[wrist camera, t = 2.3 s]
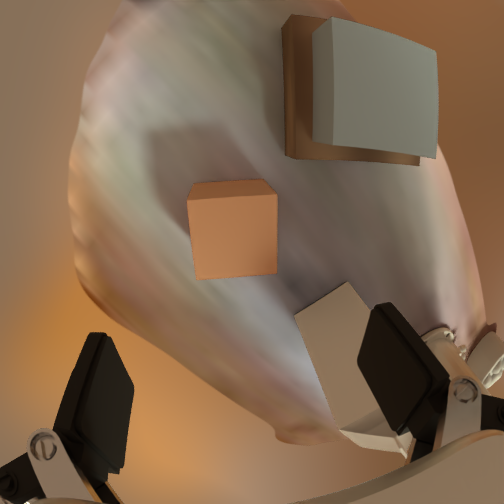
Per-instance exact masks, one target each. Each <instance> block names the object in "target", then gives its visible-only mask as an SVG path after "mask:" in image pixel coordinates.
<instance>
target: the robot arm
mask: <svg viewBox="0 0 504 504" xmlns="http://www.w3.org/2000/svg"><path fill="white" fill-rule="evenodd" d="M453 342H454V335H453V333H452V332H451V331H450V329H448V328H445V327H442V328H437V329H434V330H432V331H430V332H428V333H427V334H425V335H424V336H422V337H420V336H419V335H418V334H417V333H416V331H415V330H414V329H413V328H412V326H411V325H410V324H409V323H408V322H407V320H406V319H405V318H404V317H403V316H402V315H401V313H400V312H399V311H398V310H397V309H396V308H395V306H394V305H393V304H392V303H390V302H387V303H382V304H377V305H375V307H374V309H372V310H371V312H370V316H369V320H368V323H367V327H366V330H365V334H364V337H363V341H362V344H361V347H360V350H359V354H358V357H357V365H358V367H359V369H360V371H361V373H362V375H363V377H364V379H365V380H366V382H367V384H368V386H369V388H370V390H371V392H372V394H373V395H374V397H375V399H376V401H377V403H378V405H379V407H380V409H381V411H382V413H383V414H384V416H385V418H386V420H387V422H388V424H389V426H390V428H391V430H392V431H396V433H397V435H398V436H401V435H403V434H405V433H408V432H411V434H412V436H413V437H412V441H411V444H410V448H409V452H408V455H407V458H406V461H405V465H404V466H403V467H401V468H399V469H397V470H394V471H392V472H390V473H388V474H385V475H383V476H380V477H378V478H375V479H372V480H370V481H367V482H365V483H362V484H359V485H356V486H353V487H350V488H347V489H344V490H341V491H338V492H334V493H331V494H327V495H323V496H320V497H316V498H312V499H307V500H303V501H298V502H294V503H289V504H504V399H501V398H497V397H493V396H491V395H490V393H489V392H488V391H487V389H486V388H485V386H484V385H483V384H482V383H481V381H480V380H479V379H478V377H477V376H476V375H475V374H474V372H473V371H472V370H471V368H470V367H469V366H468V365H467V363H466V362H465V361H464V360H465V358H466V354H465V351H466V346H465V345H462V346H459V347H458V348H457V346H456V345H455V344H454V343H453ZM133 396H134V385H133V382H132V380H131V378H130V377H129V375H128V373H127V371H126V368H125V367H124V364H123V362H122V360H121V358H120V356H119V354H118V351H117V349H116V347H115V345H114V343H113V340H112V338H111V337H109V336H107V334H106V333H103V332H100V333H99V332H91V333H89V335H88V336H87V339H86V341H85V343H84V346H83V348H82V350H81V353H80V355H79V358H78V360H77V363H76V366H75V368H74V369H73V371H72V373H71V376H70V379H69V381H68V384H67V387H66V390H65V392H64V395H63V398H62V401H61V404H60V407H59V410H58V413H57V416H56V420H55V423H54V426H53V430H50V429H47V428H41V429H38V430H36V431H35V432H33V433H32V434H31V436H30V437H29V439H28V441H27V452H26V453H25V454H23V455H21V456H20V457H18V458H16V459H14V460H13V461H11V462H9V463H8V464H6V465H4V466H2V467H1V468H0V504H124V503H123V501H122V500H121V499H120V497H119V496H118V495H117V493H116V492H115V491H114V489H113V488H112V487H111V485H110V484H109V482H108V481H107V479H108V473H113V474H119V471H120V468H123V466H124V461H125V451H126V443H127V435H128V427H129V421H130V414H131V408H132V402H133Z"/></svg>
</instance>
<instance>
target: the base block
mask: <svg viewBox="0 0 504 504" xmlns="http://www.w3.org/2000/svg"><path fill="white" fill-rule="evenodd" d="M326 21H327V19H321V18H315V17H308V16H300V15H291V16H290V17H289V19H288V20H287V21H286V23H285V24H284V25H283V27H282V28H281V29H282V49H283V74H284V109H285V155H286V156H289V157H291V158H294V159H311V160H348V161H367V162H381V163H393V164H404V165H414V166H419V163H420V156H416V155H410V154H404V153H398V152H391V151H384V150H376V149H368V148H359V147H349V146H338V145H330V144H324V143H319V142H313V141H312V133H313V50H312V33H313V32H314V31H315V30H316V29H317V28H319V27H320V26H321V25H322V24H323V23H324V22H326Z"/></svg>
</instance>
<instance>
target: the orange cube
mask: <svg viewBox="0 0 504 504" xmlns="http://www.w3.org/2000/svg"><path fill="white" fill-rule="evenodd" d="M187 210H188V219H189V228H190V236H191V244H192V252H193V260H194V267H195V274H196V280H206V279H219V278H232V277H243V276H255V275H266V274H277V193H276V192H275V191H274V190H273V189H272V188H271V187H270V186H269V185H268V184H267V182H266V181H265V180H264V179H250V180H233V181H219V182H206V183H194V184H193V186H192V189H191V191H190V193H189V196H188V198H187Z"/></svg>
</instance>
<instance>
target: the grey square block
mask: <svg viewBox="0 0 504 504" xmlns="http://www.w3.org/2000/svg"><path fill="white" fill-rule="evenodd" d="M312 50H313V133H312V141H313V142H319V143H324V144H330V145H338V146H349V147H359V148H368V149H376V150H384V151H391V152H398V153H404V154H410V155H416V156H422V157H427V158H432V159H436V151H437V137H438V72H437V58H436V51H434V50H432V49H429V48H427V47H425V46H423V45H420V44H418V43H416V42H413V41H411V40H408V39H406V38H403V37H400V36H398V35H395V34H392V33H389V32H386V31H383V30H380V29H377V28H373V27H370V26H367V25H363V24H360V23H356V22H352V21H348V20H344V19H340V18H336V17H330V18H329V19H328V20H327V21H326V22H324V23H323V24H322V25H321V26H320V27H319V28H317V29H316V30H315V31H314V32H313V33H312Z"/></svg>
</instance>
